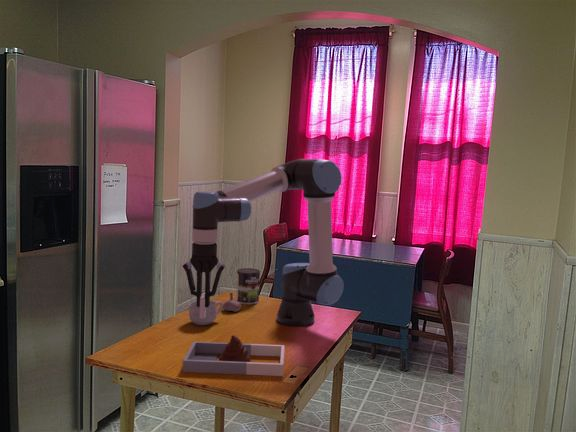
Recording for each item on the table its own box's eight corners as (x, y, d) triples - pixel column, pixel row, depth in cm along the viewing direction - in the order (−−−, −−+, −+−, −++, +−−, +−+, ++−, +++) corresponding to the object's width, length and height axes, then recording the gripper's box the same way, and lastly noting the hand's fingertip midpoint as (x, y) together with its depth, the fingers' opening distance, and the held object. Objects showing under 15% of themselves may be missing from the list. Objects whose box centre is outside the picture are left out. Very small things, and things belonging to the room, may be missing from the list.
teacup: (191, 328, 191) (192, 308, 190) (185, 320, 201) (185, 300, 200) (227, 325, 196) (228, 305, 196) (219, 316, 206) (220, 297, 205)
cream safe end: (246, 374, 153) (246, 363, 152) (250, 354, 169) (251, 343, 168) (282, 376, 153) (283, 364, 152) (284, 355, 169) (284, 345, 168)
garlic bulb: (219, 310, 215) (219, 291, 214) (233, 307, 220) (233, 289, 219) (230, 314, 210) (230, 295, 209) (244, 311, 215) (244, 293, 214)
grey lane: (182, 371, 153) (182, 360, 153) (193, 351, 169) (193, 341, 169) (246, 374, 153) (246, 363, 152) (250, 354, 169) (251, 343, 168)
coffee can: (263, 302, 228) (264, 271, 226) (242, 305, 223) (243, 274, 221) (252, 297, 237) (253, 267, 235) (232, 299, 231) (232, 269, 230)
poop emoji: (219, 370, 156) (220, 340, 154) (217, 359, 164) (218, 331, 163) (252, 368, 158) (253, 339, 157) (248, 357, 166) (249, 329, 165)
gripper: (227, 241, 160) (225, 314, 163) (186, 239, 160) (184, 312, 163) (224, 245, 153) (221, 321, 155) (180, 243, 153) (179, 319, 155)
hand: (202, 317), depth 159 cm, fingers closed
